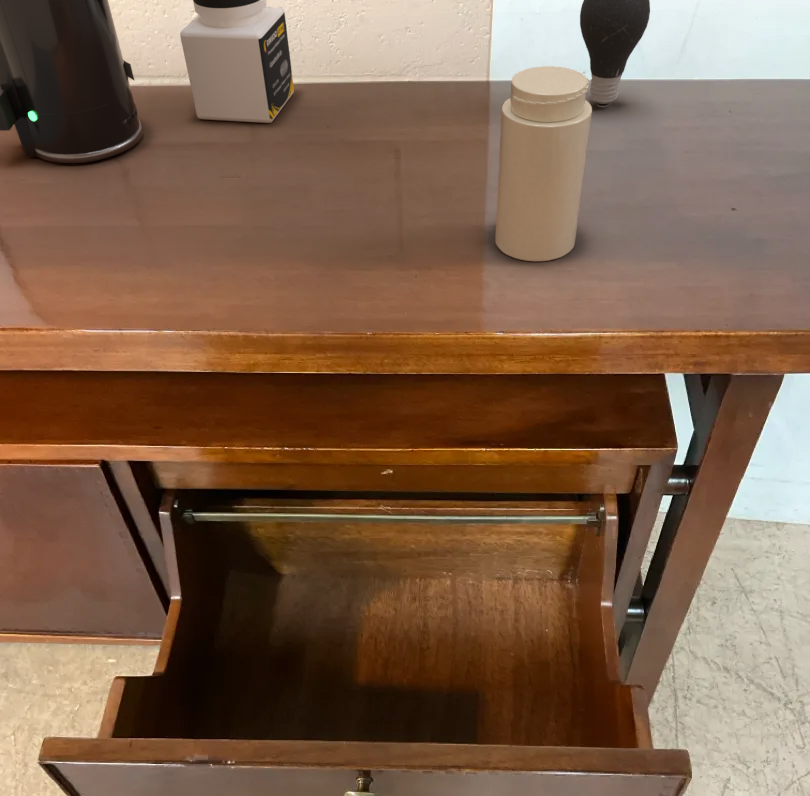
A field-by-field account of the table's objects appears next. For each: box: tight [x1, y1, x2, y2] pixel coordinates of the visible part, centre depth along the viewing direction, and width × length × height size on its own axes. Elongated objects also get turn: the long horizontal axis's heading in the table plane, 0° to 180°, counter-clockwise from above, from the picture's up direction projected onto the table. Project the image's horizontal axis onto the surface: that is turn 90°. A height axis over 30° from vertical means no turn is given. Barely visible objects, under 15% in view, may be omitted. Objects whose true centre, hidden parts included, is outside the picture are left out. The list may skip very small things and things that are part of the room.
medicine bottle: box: [179, 0, 295, 124], centre depth 72 cm, size 7×7×12 cm
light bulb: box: [579, 0, 651, 108], centre depth 71 cm, size 6×6×10 cm
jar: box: [494, 65, 593, 262], centre depth 55 cm, size 6×6×11 cm
